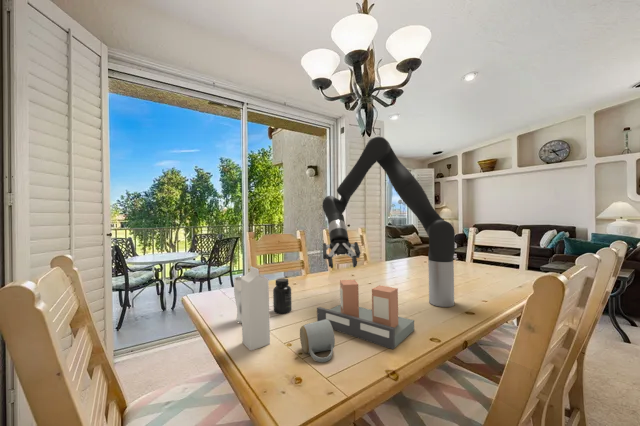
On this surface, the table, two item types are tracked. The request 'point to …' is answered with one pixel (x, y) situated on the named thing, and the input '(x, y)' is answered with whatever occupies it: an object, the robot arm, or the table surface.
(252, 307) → the milk
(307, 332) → the ceramic mug
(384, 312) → the tea box
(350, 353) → the table surface
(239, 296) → the beer glass
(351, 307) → the tea box
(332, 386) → the table surface
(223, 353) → the table surface
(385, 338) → the display shelf
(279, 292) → the supplement bottle
